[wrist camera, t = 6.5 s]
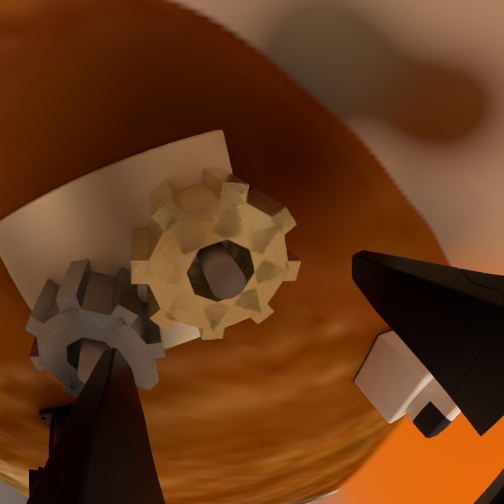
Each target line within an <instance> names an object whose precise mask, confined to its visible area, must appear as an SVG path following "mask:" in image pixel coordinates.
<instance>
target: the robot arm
mask: <svg viewBox="0 0 504 504" xmlns="http://www.w3.org/2000/svg"><path fill="white" fill-rule="evenodd" d="M352 278H353V281H354V282H355V284H356V285H357V286H358V288H359V289H360V290H361V292H362V293H363V294H364V296H365V297H366V298H367V300H368V301H369V302H370V304H371V305H372V306H373V308H374V309H375V310H376V312H377V313H378V314H379V315H380V316H381V318H382V319H383V320H384V321H385V322H386V323H387V324H388V325H389V326H390V328H391V329H392V330H393V331H394V332H395V333H396V334H397V335H398V336H399V338H400V339H401V340H402V341H403V342H404V343H405V344H406V345H407V347H408V348H409V349H410V350H411V351H412V352H413V353H414V355H415V356H416V357H417V358H418V359H419V360H420V362H421V363H422V364H423V365H424V366H425V367H426V369H427V370H428V371H429V372H430V373H431V375H432V376H433V377H434V378H435V379H436V381H437V382H438V383H439V384H440V385H441V387H442V388H443V389H444V390H445V391H446V393H447V394H448V395H449V396H450V397H451V399H452V400H453V402H454V403H455V404H456V405H457V407H458V408H459V409H460V410H461V412H462V413H463V414H464V416H465V417H466V418H467V419H468V421H469V422H470V423H471V425H472V426H473V427H474V429H475V430H476V431H477V433H478V434H479V435H480V436H482V435H483V434H484V433H485V432H486V431H488V430H489V429H490V428H491V427H492V426H493V425H494V424H495V423H496V422H497V421H499V420H500V419H501V418H502V417H503V416H504V276H502V275H495V274H488V273H481V272H476V271H471V270H466V269H459V268H456V267H451V266H446V265H440V264H435V263H430V262H425V261H420V260H414V259H409V258H404V257H398V256H393V255H387V254H382V253H376V252H370V251H364V250H363V251H360V252H358V253H356V254H354V255H353V257H352ZM38 416H39V418H40V419H41V420H42V421H44V422H45V423H46V424H47V425H49V426H50V436H49V458H48V460H47V463H46V465H45V467H44V468H42V467H38V470H29V499H28V501H27V503H26V504H165V501H164V497H163V494H162V491H161V487H160V484H159V480H158V476H157V473H156V469H155V465H154V461H153V457H152V452H151V448H150V443H149V438H148V433H147V428H146V423H145V418H144V413H143V410H142V406H141V402H140V399H139V395H138V391H137V388H136V384H135V380H134V375H133V371H132V369H131V366H130V365H129V363H128V362H127V361H126V359H125V358H124V357H123V355H122V354H121V353H120V351H119V350H118V349H117V348H111V349H108V350H105V351H104V352H103V353H102V355H101V356H100V358H99V360H98V362H97V363H96V365H95V367H94V369H93V370H92V372H91V374H90V376H89V378H88V380H87V381H86V383H85V385H84V387H83V389H82V391H81V392H80V394H79V396H78V398H77V400H76V402H75V404H74V405H71V406H66V407H61V408H55V409H50V410H44V411H39V415H38ZM474 504H504V469H503V470H502V471H501V472H500V474H499V475H498V476H497V478H496V479H495V480H494V481H493V482H492V484H491V485H490V486H489V487H488V488H487V489H486V491H485V492H484V493H483V494H482V495H481V496H480V497H479V498H478V499H477V500H476V501H475V502H474Z"/></svg>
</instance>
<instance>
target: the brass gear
mask: <svg viewBox="0 0 504 504" xmlns="http://www.w3.org/2000/svg"><path fill="white" fill-rule="evenodd" d="M248 189H249V184H248V183H246V182H244V181H243V180H241V179H239V178H238V177H236V176H234V175H232V174H231V173H229V172H227V171H226V170H220V169H210V168H204V172H203V179H202V182H201V183H198V184H195V185H192V186H189V187H186V188H183V189H180V190H177V191H175V190H174V189H173V188H172V186H171V185H170V184H169V183H168V182H167V180H166V181H164V182H163V183H162V184H161V185H160V186H159V187H157V188H156V189H155V190H154V191H153V192H152V193H151V194H150V209H151V217H152V220H151V222H150V224H149V226H148V228H147V229H133V235H132V249H131V284H147V297H148V308H149V318H150V319H151V320H152V321H153V322H155V323H156V324H157V325H159V326H160V327H162V328H163V329H164V330H167V329H169V328H170V327H171V326H172V325H174V324H175V323H176V322H180V323H183V324H187V325H190V326H194V327H198V330H199V333H200V336H201V339H202V340H210V339H222V338H223V332H224V327H227V326H229V325H232V324H235V323H237V322H240V321H242V320H245V319H247V318H250V317H251V318H252V319H253V320H254V321H255V322H256V323H257V324H259V323H260V322H261V321H263V320H264V319H265V318H267V317H268V316H269V315H270V314H272V313H273V312H274V310H273V309H272V308H271V306H270V305H269V303H268V302H269V301H270V299H271V298H272V296H273V295H274V293H275V292H276V290H277V289H278V287H279V286H280V284H281V283H282V281H295V280H296V277H297V274H298V270H299V267H300V263H301V261H300V260H299V259H298V258H297V257H296V256H295V255H294V254H293V253H292V252H290V251H289V250H288V249H287V248H286V244H285V237H284V235H285V234H286V233H287V232H288V231H290V230H291V229H292V228H293V227H294V226H296V225H297V224H296V222H295V221H294V219H293V217H292V216H291V214H290V213H289V211H288V209H287V208H286V206H284V205H282V204H281V203H279V202H278V201H276V200H274V199H273V198H271V197H269V196H268V195H266V194H265V193H263V192H261V191H260V190H258V189H256V188H254V189H253V190H251V191H250V192H249V193H248ZM226 239H228V240H230V241H231V242H230V244H229V246H228V247H227V251H228V252H229V254H230V255H231V256H232V258H233V259H234V261H235V262H236V264H237V265H238V267H239V268H240V270H241V271H242V272H243V274H244V276H245V279H246V283H245V287H244V289H243V290H242V292H241V293H240V294H239V295H237V296H236V297H234V298H231V299H220V298H218V297H216V296H215V295H214V294H213V293H212V290H211V288H210V286H209V284H208V281H207V279H206V277H205V274H204V272H203V270H202V268H201V265H199V264H196V263H194V262H193V260H194V258H195V256H196V254H197V253H198V251H199V249H200V248H203V247H206V246H209V245H212V244H214V243H217V242H220V241H223V240H226Z"/></svg>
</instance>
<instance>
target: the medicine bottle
mask: <svg viewBox="0 0 504 504" xmlns="http://www.w3.org/2000/svg"><path fill="white" fill-rule="evenodd" d="M354 382H355V384H356V385H357V386H358V387H359V389H360V390H361V391H362V392H363V393H364V395H365V396H366V397H367V398H368V399H369V401H370V402H371V403H372V404H373V405H374V406H375V408H376V409H377V410H378V411H379V412H380V414H381V415H382V416H383V417H384V418H385V420H386V421H387V422H388V423H392V422H394V421H395V420H397V419H399V418H400V417H402V416H403V415H405V414H406V413H409V414H410V415H409V417H408V418H409V419H410V420H411V421H412V422H413V423H414V425H415V426H416V427H417V428H418V429H419V430H420V431H421V432H422V434H423V435H424V436H425V437H426V438H431V437H434V436H437V435H438V434H439V433H440V432H441V431H443V430H444V429H445V428H446V427H447V426H448V425H449V424H450V423H451V422H452V421H453V420H454V419H455V418H456V417H457V416H458V415H459V414H460V412H461V410H460V409H459V408H458V407H457V405H456V404H455V403H454V402H453V400H452V399H451V397H450V396H449V395H448V394H447V393H446V391H445V390H444V389H443V388H442V387H441V385H440V384H439V383H438V382H437V381H436V379H435V378H434V377H433V376H432V375H431V373H430V372H429V371H428V370H427V369H426V367H425V366H424V365H423V364H422V363H421V362H420V360H419V359H418V358H417V357H416V356H415V355H414V353H413V352H412V351H411V350H410V349H409V348H408V347H407V345H406V344H405V343H404V342H403V341H402V340H401V339H400V338H399V336H398V335H397V334H396V333H395V332H394V331H390V332H387V333H384V334H380V335H379V336H378V337H377V339H376V341H375V343H374V345H373V347H372V349H371V351H370V353H369V355H368V357H367V359H366V360H365V362H364V364H363V366H362V368H361V369H360V371H359V373H358V375H357V376H356V378H355V380H354Z"/></svg>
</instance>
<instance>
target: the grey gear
mask: <svg viewBox="0 0 504 504" xmlns="http://www.w3.org/2000/svg"><path fill="white" fill-rule="evenodd" d="M25 330H26V331H28V332H29V333H31V334H33V335H34V336H36V337H35V340H34V343H33V346H32V349H31V353H30V356H29V358H30V359H31V361H32V363H33V364H34V366H35V367H36V369H37V370H38V371H43V370H48V371H49V372H50V373H52V374H53V375H54V376H55V377H56V378H57V379H59V380H60V381H61V382H62V383H63V385H62V391H63V392H66V393H68V394H70V395H72V396H75V397H77V398H78V396H79V394H80V392H81V391H82V389H83V387H84V385H85V383H83V382H82V381H81V380H80V379H79V378H78V365H79V358H80V351H81V344H82V338H87V339H92V340H98V341H103V342H106V343H107V348H106V350H108V349H111V348H117V349H118V350H119V351H120V353H121V354H122V355H123V357H124V358H125V359H126V361H127V362H128V363H129V365H130V366H131V369H132V371H133V375H134V380H135V384H136V387H141V388H144V389H147V390H151V389H152V388H153V387H154V386H155V385H156V384H157V383H158V382H159V376H158V370H157V364H156V359H157V358H163V357H166V356H165V350H164V344H163V338H162V332H161V327H160V326H159V325H157V324H156V323H155V322H153V321H152V320H151V319H150V318H149V308H148V303H143V301H142V300H141V299H140V298H139V296H138V284H131V272H130V271H128V270H127V269H125V268H124V267H121V269H120V270H119V271H118V273H117V274H116V276H112V275H107V274H103V273H98V272H94V271H91V267H90V263H89V259H84V260H78V261H72V262H71V263H70V265H69V268H68V270H67V272H66V274H65V277H64V279H63V281H62V283H60V284H59V285H58V284H56V283H55V282H53V281H52V280H50V279H49V278H48V279H47V281H46V283H45V285H44V287H43V289H42V291H41V293H40V295H39V298H38V300H37V302H36V304H35V306H34V309H33V311H32V313H31V315H30V318H29V320H28V323H27V325H26V328H25Z"/></svg>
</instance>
